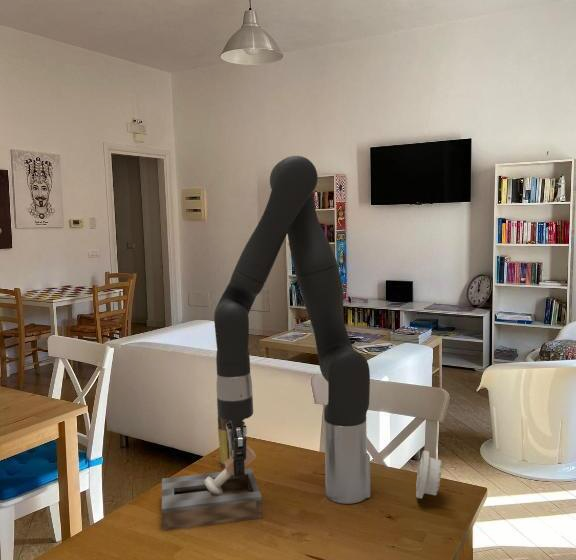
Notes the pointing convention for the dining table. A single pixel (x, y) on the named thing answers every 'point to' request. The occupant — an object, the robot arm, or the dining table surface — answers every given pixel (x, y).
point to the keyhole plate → (215, 511)
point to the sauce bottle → (223, 442)
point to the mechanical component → (428, 475)
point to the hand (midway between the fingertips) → (238, 472)
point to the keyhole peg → (227, 473)
